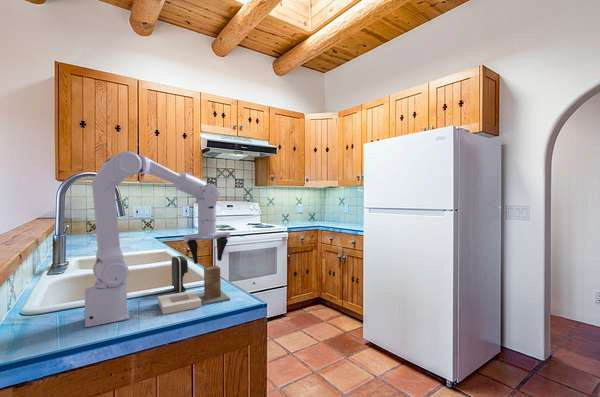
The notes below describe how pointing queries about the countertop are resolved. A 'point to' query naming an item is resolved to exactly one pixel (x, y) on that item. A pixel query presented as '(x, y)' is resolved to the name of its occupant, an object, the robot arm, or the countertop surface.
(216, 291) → the peg
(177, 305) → the holder
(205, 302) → the mat
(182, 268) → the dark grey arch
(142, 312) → the countertop surface
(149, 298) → the countertop surface
